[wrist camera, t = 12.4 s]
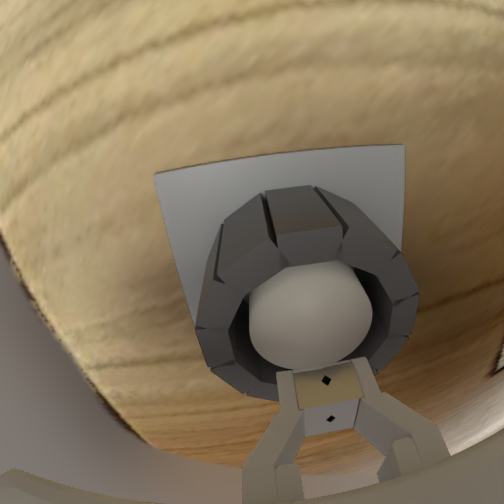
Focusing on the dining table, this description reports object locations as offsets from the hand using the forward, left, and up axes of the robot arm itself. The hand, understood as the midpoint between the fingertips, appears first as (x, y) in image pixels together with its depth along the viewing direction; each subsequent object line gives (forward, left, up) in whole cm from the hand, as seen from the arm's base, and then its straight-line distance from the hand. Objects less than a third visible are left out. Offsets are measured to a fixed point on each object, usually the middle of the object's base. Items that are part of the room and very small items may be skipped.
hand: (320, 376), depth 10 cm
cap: (0, 0, -7) cm, 7 cm away
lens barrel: (0, 0, -8) cm, 8 cm away
